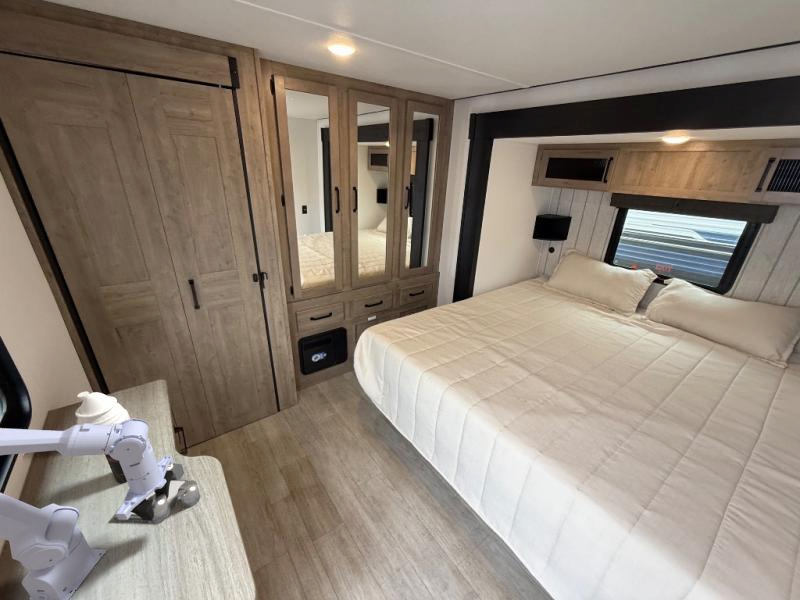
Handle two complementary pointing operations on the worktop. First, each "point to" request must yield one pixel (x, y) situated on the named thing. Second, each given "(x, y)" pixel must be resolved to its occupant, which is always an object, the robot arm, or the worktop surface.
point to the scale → (173, 490)
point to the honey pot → (100, 410)
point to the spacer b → (189, 494)
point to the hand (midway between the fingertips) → (156, 508)
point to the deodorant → (116, 469)
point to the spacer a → (159, 508)
